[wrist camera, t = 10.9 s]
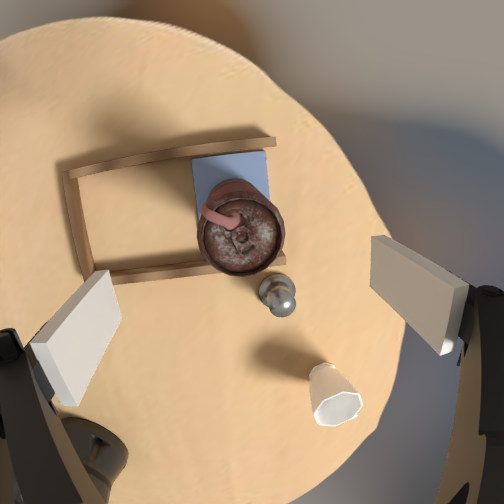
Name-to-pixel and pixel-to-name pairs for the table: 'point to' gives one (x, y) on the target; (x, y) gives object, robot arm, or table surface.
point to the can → (239, 229)
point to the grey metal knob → (278, 294)
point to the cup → (332, 396)
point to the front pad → (229, 173)
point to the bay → (71, 175)
